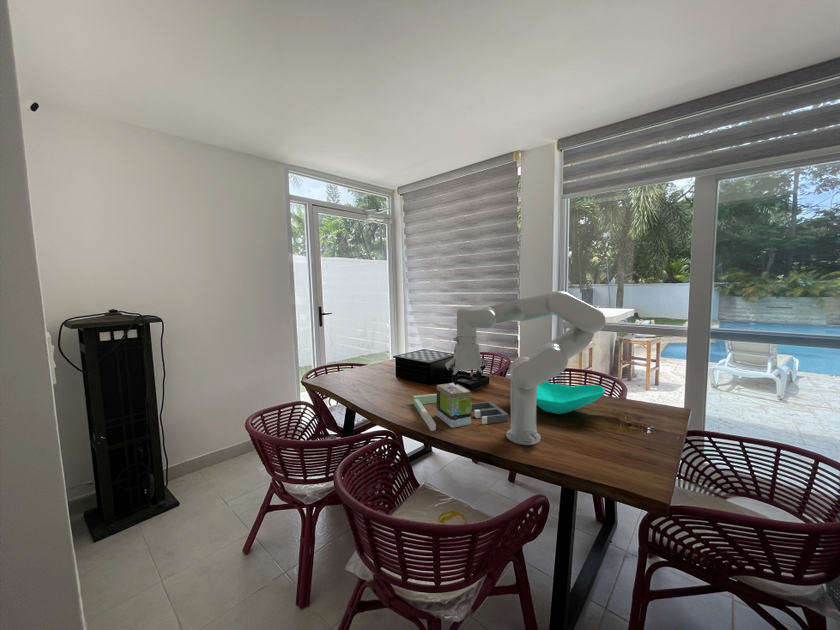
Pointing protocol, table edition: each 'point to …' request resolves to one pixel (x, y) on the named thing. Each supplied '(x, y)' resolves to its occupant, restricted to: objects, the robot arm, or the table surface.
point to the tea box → (454, 404)
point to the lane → (433, 399)
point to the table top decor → (566, 397)
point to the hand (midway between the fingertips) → (466, 382)
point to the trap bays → (491, 412)
